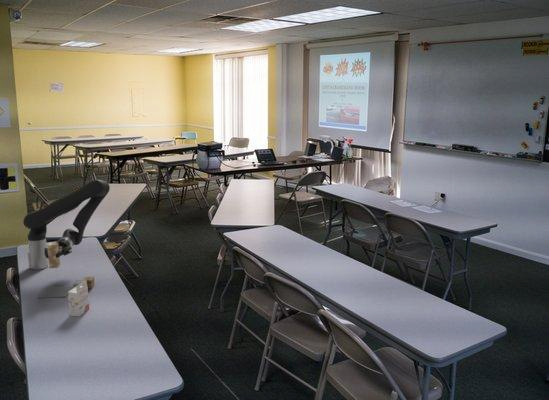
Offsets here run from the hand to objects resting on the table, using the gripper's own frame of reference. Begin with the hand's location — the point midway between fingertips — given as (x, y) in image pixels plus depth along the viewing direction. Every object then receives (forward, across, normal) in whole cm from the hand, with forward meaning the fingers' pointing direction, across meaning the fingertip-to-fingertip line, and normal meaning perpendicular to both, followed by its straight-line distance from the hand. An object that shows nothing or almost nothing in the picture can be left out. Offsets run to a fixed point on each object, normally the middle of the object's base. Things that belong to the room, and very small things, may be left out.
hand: (51, 256), depth 237 cm
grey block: (-2, +12, +21) cm, 24 cm away
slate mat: (-3, 0, +20) cm, 21 cm away
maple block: (-3, 0, +6) cm, 7 cm away
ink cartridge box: (+21, +18, +21) cm, 35 cm away
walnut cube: (-9, +14, +21) cm, 26 cm away
